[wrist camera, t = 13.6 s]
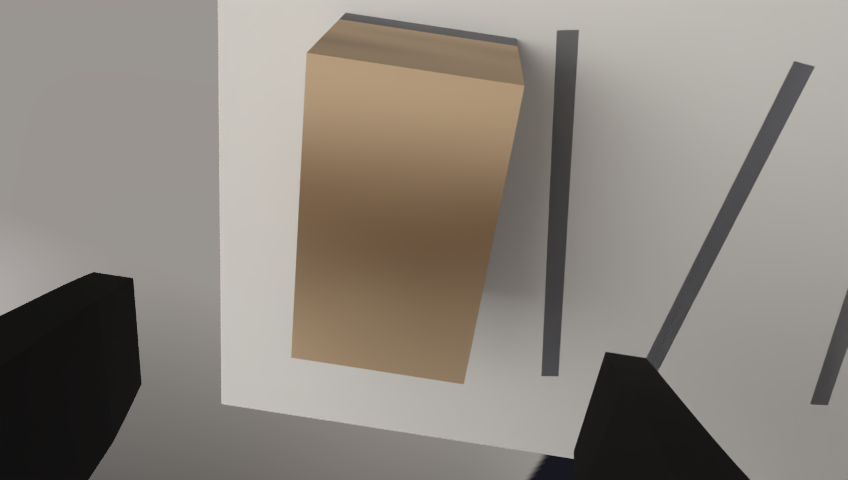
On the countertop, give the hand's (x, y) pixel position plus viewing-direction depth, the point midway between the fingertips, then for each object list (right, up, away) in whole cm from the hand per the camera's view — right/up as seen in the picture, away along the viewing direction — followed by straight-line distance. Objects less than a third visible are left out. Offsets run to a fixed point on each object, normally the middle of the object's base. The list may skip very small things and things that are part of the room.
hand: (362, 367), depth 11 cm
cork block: (+1, +4, +7) cm, 8 cm away
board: (+7, +2, +9) cm, 12 cm away
